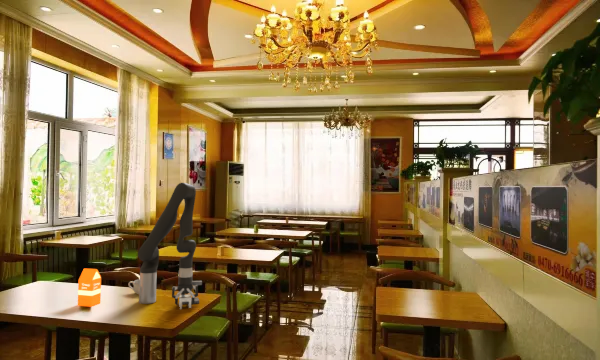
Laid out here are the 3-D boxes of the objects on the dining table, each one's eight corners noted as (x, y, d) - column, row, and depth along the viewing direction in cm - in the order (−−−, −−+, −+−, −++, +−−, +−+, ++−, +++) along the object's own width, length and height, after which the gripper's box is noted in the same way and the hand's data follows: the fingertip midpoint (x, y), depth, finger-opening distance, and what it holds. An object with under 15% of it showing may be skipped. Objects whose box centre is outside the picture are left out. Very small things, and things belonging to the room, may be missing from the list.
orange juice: (91, 306, 234) (92, 270, 235) (77, 305, 236) (78, 269, 237) (100, 303, 242) (101, 267, 243) (87, 302, 244) (88, 267, 244)
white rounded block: (190, 308, 235) (191, 297, 236) (179, 309, 234) (180, 298, 234) (189, 304, 244) (190, 293, 244) (178, 305, 242) (179, 294, 242)
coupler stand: (181, 304, 243) (181, 283, 243) (180, 300, 251) (181, 280, 251) (201, 303, 247) (202, 282, 247) (200, 299, 254) (201, 279, 254)
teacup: (154, 291, 271) (154, 279, 271) (146, 296, 260) (146, 282, 260) (133, 290, 272) (133, 278, 273) (124, 295, 262) (125, 281, 262)
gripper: (172, 277, 233) (171, 307, 232) (199, 276, 237) (198, 305, 237) (172, 274, 240) (171, 303, 240) (197, 273, 244) (197, 302, 244)
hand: (184, 304), depth 238 cm, fingers open, 8 cm apart
